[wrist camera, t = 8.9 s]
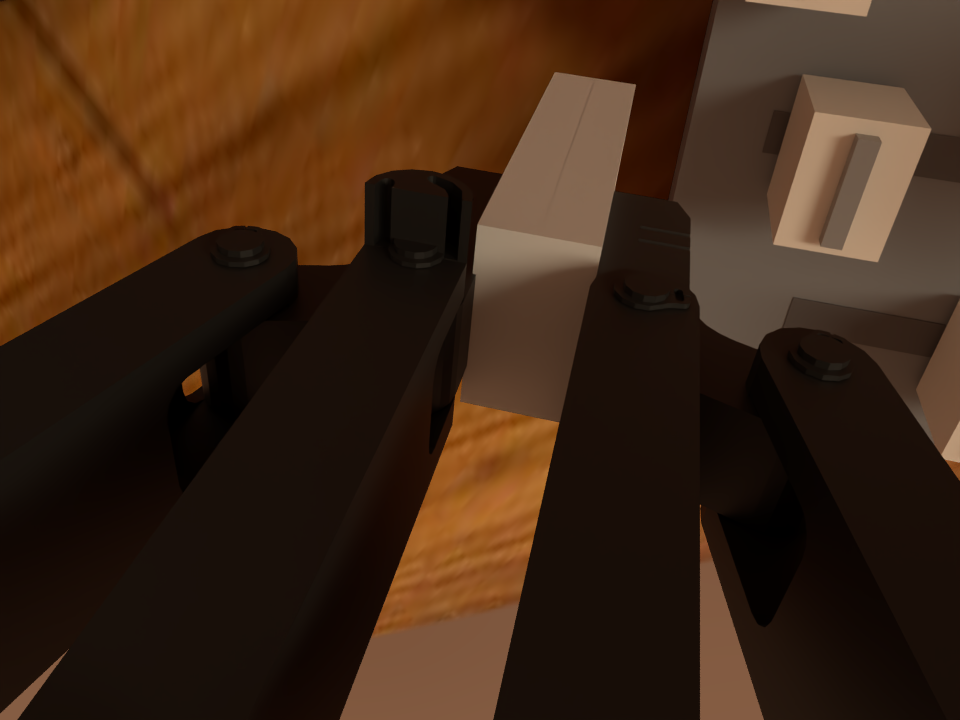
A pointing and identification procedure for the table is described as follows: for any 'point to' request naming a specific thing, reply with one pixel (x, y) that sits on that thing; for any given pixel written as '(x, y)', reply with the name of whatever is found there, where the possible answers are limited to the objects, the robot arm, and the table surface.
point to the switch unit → (751, 162)
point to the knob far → (944, 391)
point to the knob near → (824, 5)
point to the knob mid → (844, 166)
